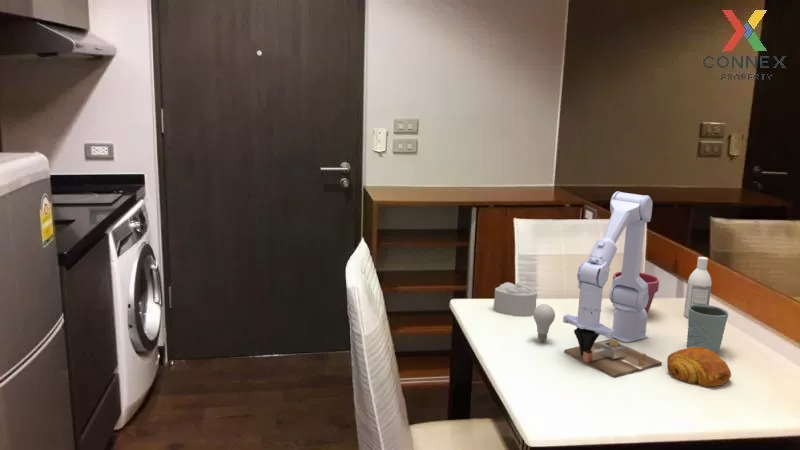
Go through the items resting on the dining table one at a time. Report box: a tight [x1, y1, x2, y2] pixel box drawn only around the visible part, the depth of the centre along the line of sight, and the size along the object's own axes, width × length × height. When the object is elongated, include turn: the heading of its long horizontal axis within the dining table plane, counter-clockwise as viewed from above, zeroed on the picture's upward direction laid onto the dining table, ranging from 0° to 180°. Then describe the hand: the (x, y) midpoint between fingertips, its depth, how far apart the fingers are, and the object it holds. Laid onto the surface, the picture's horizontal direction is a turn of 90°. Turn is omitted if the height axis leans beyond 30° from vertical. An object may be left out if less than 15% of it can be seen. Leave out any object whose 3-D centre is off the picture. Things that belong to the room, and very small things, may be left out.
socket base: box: [563, 338, 663, 379], centre depth 181 cm, size 18×18×5 cm
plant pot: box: [612, 271, 660, 315], centre depth 217 cm, size 14×14×13 cm
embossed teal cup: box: [686, 304, 729, 356], centre depth 189 cm, size 10×10×12 cm
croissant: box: [666, 347, 732, 387], centre depth 172 cm, size 14×16×8 cm
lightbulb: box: [532, 303, 556, 342], centre depth 191 cm, size 6×6×11 cm
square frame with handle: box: [583, 341, 628, 362], centre depth 179 cm, size 13×5×3 cm, turn 120°
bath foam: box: [683, 256, 713, 319], centre depth 215 cm, size 7×7×20 cm
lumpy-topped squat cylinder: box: [493, 281, 538, 317], centre depth 217 cm, size 10×13×9 cm
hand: (584, 355), depth 180 cm, fingers closed
